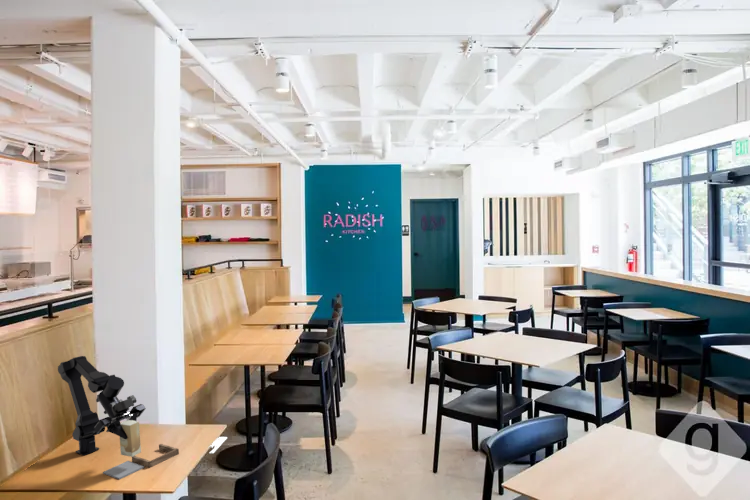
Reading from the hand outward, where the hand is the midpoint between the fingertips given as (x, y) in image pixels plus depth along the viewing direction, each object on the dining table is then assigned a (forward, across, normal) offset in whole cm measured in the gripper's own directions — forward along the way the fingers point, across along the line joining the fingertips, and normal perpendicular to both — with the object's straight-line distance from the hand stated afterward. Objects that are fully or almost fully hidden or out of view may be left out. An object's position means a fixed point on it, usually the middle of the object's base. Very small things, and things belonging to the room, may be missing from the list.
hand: (132, 436), depth 188 cm
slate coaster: (+8, -3, +10) cm, 13 cm away
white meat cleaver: (+20, +27, -2) cm, 33 cm away
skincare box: (+4, 0, +6) cm, 7 cm away
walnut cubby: (+9, +9, +8) cm, 15 cm away
